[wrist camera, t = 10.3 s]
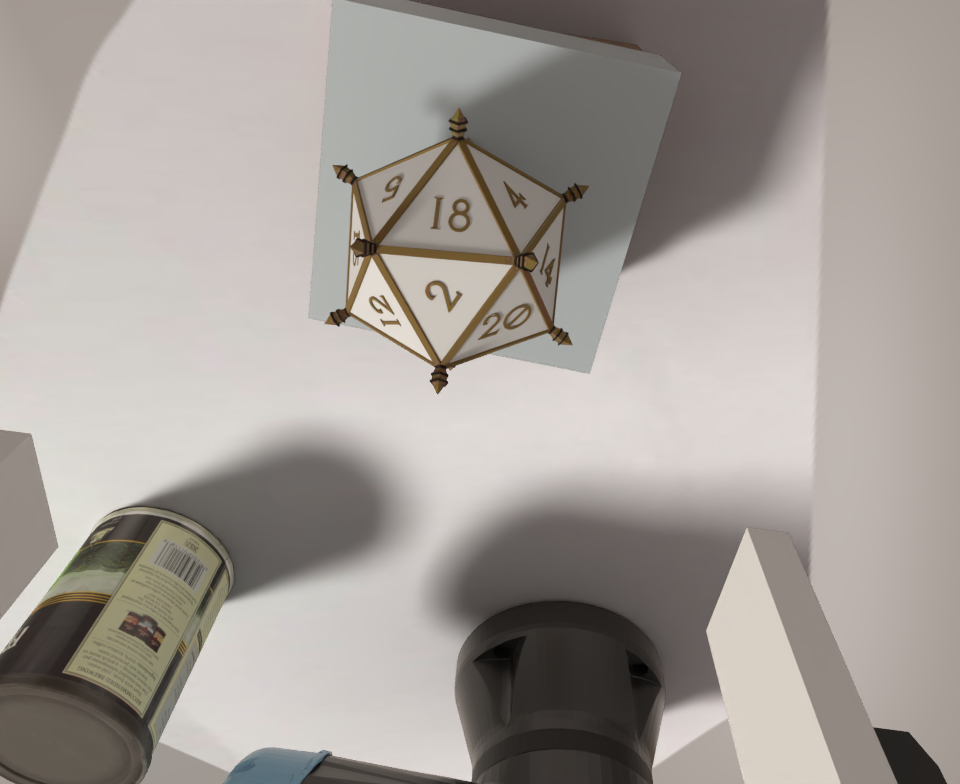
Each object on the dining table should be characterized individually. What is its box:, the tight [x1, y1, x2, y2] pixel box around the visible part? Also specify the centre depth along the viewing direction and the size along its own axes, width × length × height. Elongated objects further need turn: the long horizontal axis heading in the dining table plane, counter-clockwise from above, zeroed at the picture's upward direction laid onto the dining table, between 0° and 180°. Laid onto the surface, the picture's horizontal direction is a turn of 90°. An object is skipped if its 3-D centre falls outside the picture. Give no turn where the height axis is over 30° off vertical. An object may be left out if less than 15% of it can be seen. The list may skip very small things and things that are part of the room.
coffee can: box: [0, 507, 234, 784], centre depth 46 cm, size 10×10×14 cm
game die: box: [325, 108, 589, 394], centre depth 25 cm, size 9×8×10 cm
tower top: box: [308, 0, 682, 374], centre depth 30 cm, size 12×12×5 cm
